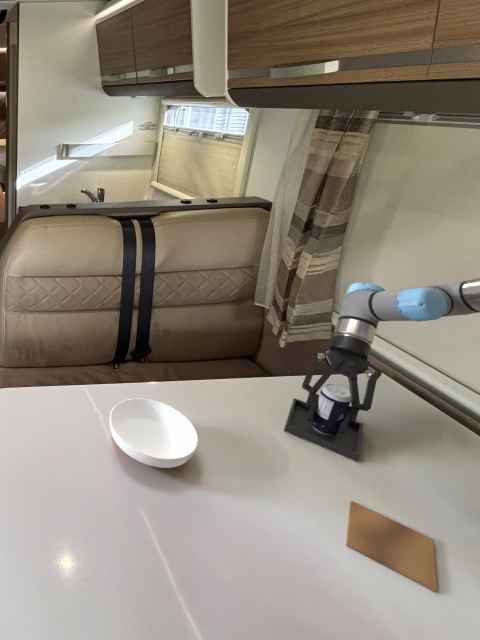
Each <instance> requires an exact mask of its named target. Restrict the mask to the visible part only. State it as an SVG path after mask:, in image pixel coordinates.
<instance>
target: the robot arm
mask: <svg viewBox="0 0 480 640" xmlns="http://www.w3.org/2000/svg"><path fill="white" fill-rule="evenodd" d="M479 313H480V277H479V278H473V279H468V280H462V281H457V282H451V283H446V284H439V285H429V286H420V287H417V286H416V287H410V288H398V289H389V290H386V289H385V288H384V287H382V286H380V285H378V284H375V283H371V282H367V283H365V282H355V283H352V284H351V285H349V287H348V288H347V291H346V293H345V295H344V296H343V301H342V305H341V309H340V312H339V316H338V318H337V321H336V324H335V328H334V330H333V336H332V337H331V340H330V343H329V347H328V349H327V351H325V352H324V353H320V352H317V351H312V352H311V354H310V364H309V367H308V369H307V372H306V375H305V377H304V379H303V382H302V384H301V388H302V389H303V390H305V391H306V392H308V396H307V399H306V401H305V402H306V405H307V406H310V407H311V409H310V412H309V415H308V418H307V420H308V421H311V420H312V418H313V414H314V411H315V408H316V405H317V402H318V399H319V395H320V394H318V392H319V390H321V389H322V388H323V385H324V384H326V382H327V381H328V379H329V378H331V376H332V375H333V374H337V375H342V376H344V377H347V381H348V386H349V392H350V393H351V396H350V397H351V403H350V405H349V407H348V410H347V412H346V415H345V417H344V420H343V423H342V426H341V430H340V433H341V434H345V433H346V430H347V426H348V423H349V421H350V422H352V423H353V422H355V421H357V419H358V415H359V411H364V412H368V411H370V410H371V409H372V404H373V401H374V395H375V390H376V385H377V381H378V380H379V378H380V377H381V376H382V372H381V371H379V370H374V369H372V368H371V367H369V364H368V359H369V356H370V353H371V349H372V345H373V343H374V339H375V336H376V332H377V328H378V326H379V322H427V321H436V320H440V319H441V318H444V317H445V318H446V317H453V316H454V317H455V316H467V315H472V314H479ZM323 359H324V361H325V362H326V364H327V367H328V368H327V369H326V370H325V371H324V373H322V375H321V376H320V378H319V379H318V380H317V381H316V382H315V383H314V384H313V386H311V385H310V383H311V382H312V379H313V376H314V374H315V370H316V369H317V366H318V363H321V362H322V360H323ZM364 372H366V377H367V379H368V380H367V383H366V386H365V387H366V388H365V392H364V397H363V401H362V403H361V401H360V392H359V385H358V376H359V375H360V374H362V373H364Z"/></svg>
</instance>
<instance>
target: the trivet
mask: <svg viewBox="0 0 480 640" xmlns="http://www.w3.org/2000/svg"><path fill="white" fill-rule="evenodd" d="M347 521H348V522H347V533H346V541H345V542H346V543H345V546H346V547H349V548H351V549H352V550H355V551H357V552H359V553H360V554H362V555H364V556H366V557H368V558H370V559H372V560H374V561H376V562H378V563H379V564H381V565H383V566H386V567H387V568H389V569H391V570H393V571H395V572H397V573H399V574H400V575H403V576H404V577H406V578H409V579H410V580H413V581H414V582H416V583H418V584H420V585H422V586H424V587H426V588H428V589H430V590H432V591H434V592H435V593H437V592H438V591H439V590H438V578H437V567H436V557H435V546H434V538H432V537H430V536H428V535H426V534H424V533H422V532H420V531H417V530H415V529H413V528H411V527H408V526H406V525H404V524H402V523H400V522H397V521H396V520H393V519H391V518H389V517H388V516H385V515H383V514H381V513H378V512H376V511H375V510H372V509H370V508H368V507H366V506H364V505H361V504H359V503H357V502H355V501H353V500H350V502H349V510H348V520H347Z"/></svg>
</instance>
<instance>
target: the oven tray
mask: <svg viewBox="0 0 480 640" xmlns="http://www.w3.org/2000/svg"><path fill="white" fill-rule="evenodd" d="M306 402H307V401H303V400H301V399H298V398H293V400H292V402H291V406H290V409H289V412H288V416H287V419H286V422H285V426H284V429H283V431H284V432H286V433H288V434H289V435H292V436H295V437H297V438H299V439H303V440H305V441H307V442H309V443H312V444H314V445H317V446H318V447H321V448H324V449H326V450H329V451H331V452H333V453H335V454H338V455H341V456H343V457H345V458H348V459H350V460H353V461H355V462H357V463H358V462H359V460H360V457H361V455H362V443H363V431H364V423H362V422H359V421H357V420H356V421H355V422H353V423H352V422H350V421H349V423H348V426H347V430H346V433H345V434H341V433H340V430H341V427H340V430H339V432H338V434H335V435H325V434H322V433H320V432H318V431H317V430H315V429H314V428H313V426H312V425H311V423H310V421H308V420H307V418H308V415H309V412H310V409H311V407H310V406H307V405H306ZM342 423H343V422H342ZM341 426H342V425H341Z"/></svg>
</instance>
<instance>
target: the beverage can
mask: <svg viewBox="0 0 480 640" xmlns="http://www.w3.org/2000/svg"><path fill="white" fill-rule="evenodd" d="M318 395H319V399H318V402H317V405H316V408H315V411H314V414H313V418H312V420H311V421H310V423H311V425H312V426H313V428H314V429H315V430H317V431H318V432H320V433H322V434H325V435H335V434H338V432H339V430H340V427H341V425H342V422H343V420H344V417H345V415H346V412H347V410H348V407H349V406H351V397H350V396H351V393H350V390H348V389H347V388H345V387H343V386H341V385H338V384H335V383H327V384H325V385H324V386H322V387H321V388H320V393H319V394H318Z"/></svg>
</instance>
